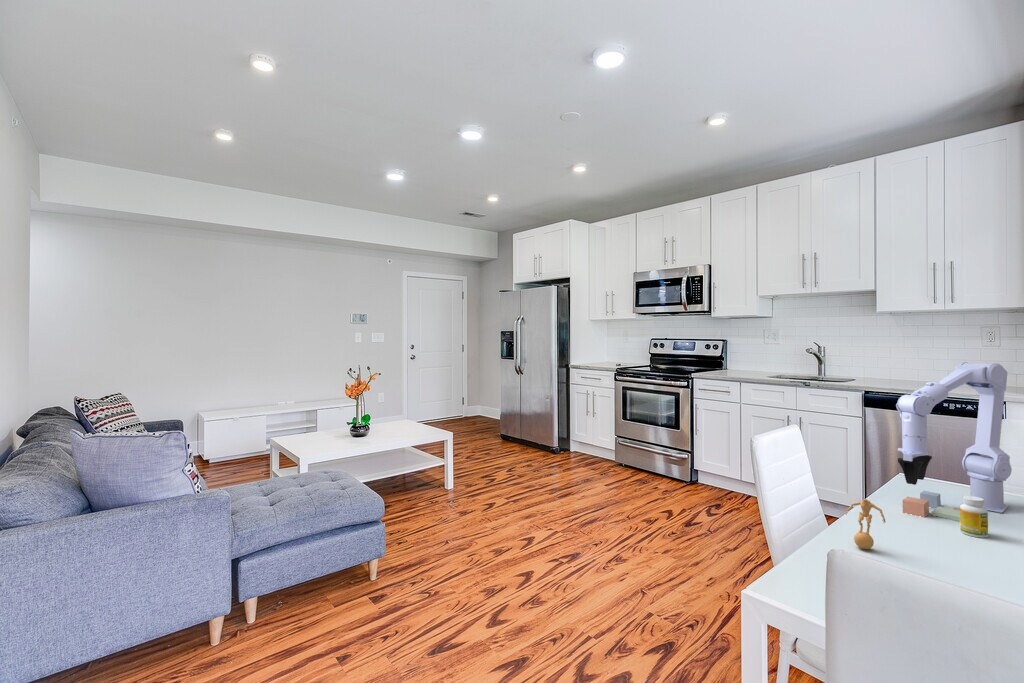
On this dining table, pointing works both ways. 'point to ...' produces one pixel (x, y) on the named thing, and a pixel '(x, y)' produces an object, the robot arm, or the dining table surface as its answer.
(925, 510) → the terracotta brick
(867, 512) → the figurine
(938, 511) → the plate
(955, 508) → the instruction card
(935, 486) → the dining table surface
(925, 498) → the slate brick
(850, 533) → the dining table surface
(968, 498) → the supplement bottle
